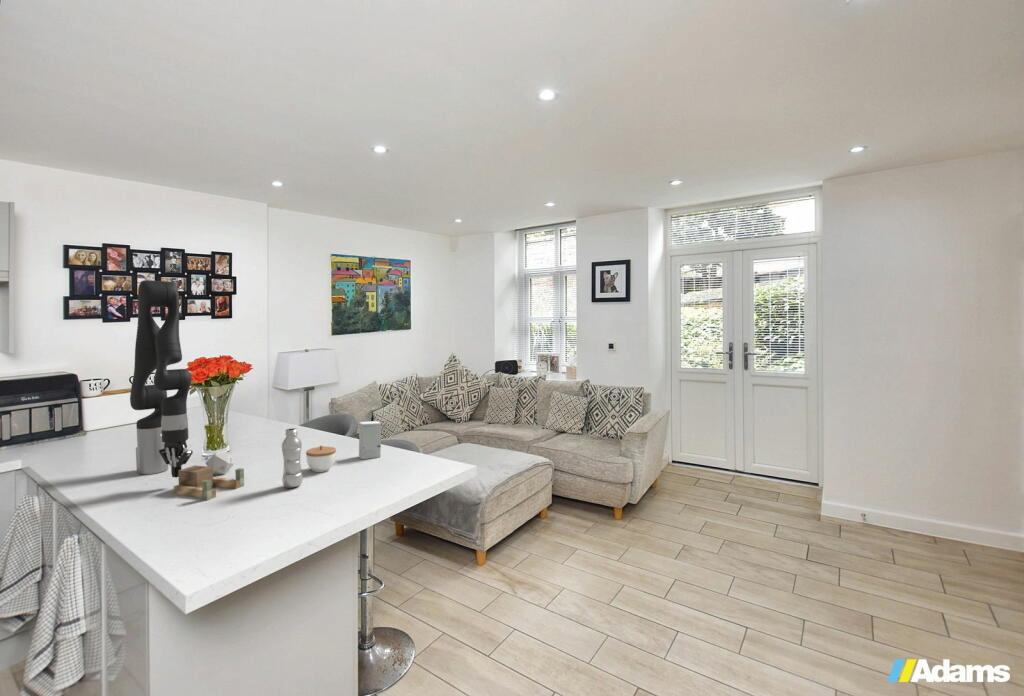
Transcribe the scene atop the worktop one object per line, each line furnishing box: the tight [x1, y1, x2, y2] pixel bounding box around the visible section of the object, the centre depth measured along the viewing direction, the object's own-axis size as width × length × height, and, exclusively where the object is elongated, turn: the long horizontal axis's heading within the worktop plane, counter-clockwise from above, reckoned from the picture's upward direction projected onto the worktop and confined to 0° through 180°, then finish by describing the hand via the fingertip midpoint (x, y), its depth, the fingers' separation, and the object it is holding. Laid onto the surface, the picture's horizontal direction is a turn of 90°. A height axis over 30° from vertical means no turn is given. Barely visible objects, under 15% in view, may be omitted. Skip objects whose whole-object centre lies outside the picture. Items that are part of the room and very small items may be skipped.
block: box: [178, 465, 214, 489], centre depth 161 cm, size 8×6×7 cm
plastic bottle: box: [281, 427, 303, 489], centre depth 163 cm, size 6×7×20 cm
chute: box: [173, 467, 245, 501], centre depth 160 cm, size 16×14×6 cm
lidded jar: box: [305, 445, 337, 473], centre depth 182 cm, size 11×11×9 cm
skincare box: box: [358, 420, 382, 460], centre depth 200 cm, size 8×6×15 cm
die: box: [205, 451, 236, 475], centre depth 178 cm, size 8×9×10 cm
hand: (176, 476), depth 163 cm, fingers closed
